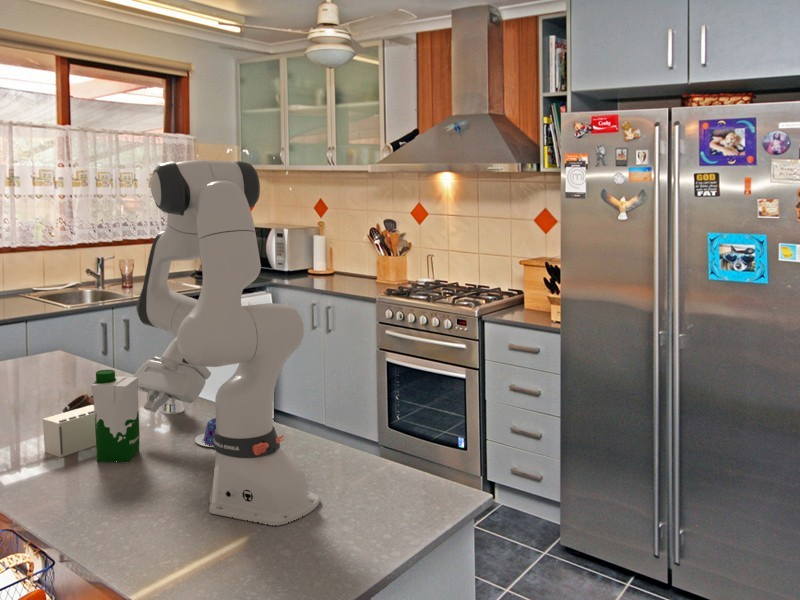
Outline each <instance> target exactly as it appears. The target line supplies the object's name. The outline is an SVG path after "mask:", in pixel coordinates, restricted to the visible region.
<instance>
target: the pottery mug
mask: <svg viewBox="0 0 800 600" xmlns="http://www.w3.org/2000/svg"><path fill="white" fill-rule="evenodd" d="M90 405H94V399H93V394H92V395H91V396H89V395H88V394H87V393H84V394H82V395H79V396H77V397H76V398H74V399H73V400H72V401H70V402H69V403H68V404H67V406H65V407H64V408H63V409H62V413H65V412H68V411H72V410H75V409H79V408H82V407H86V406H90Z"/></svg>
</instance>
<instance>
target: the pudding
mask: <svg viewBox="0 0 800 600" xmlns="http://www.w3.org/2000/svg"><path fill="white" fill-rule="evenodd" d="M215 429H216V417H215V418H212V419H210V420H208V421H207V423H206V427H205V430H204V431H205V432H203V433H201V434H199V435H197V436H196V437H195V439H194V442H195V443H196V444H198V445H200V446H203V447H207V448H208V447H209V448H214V431H215ZM203 438H204V440H203V443H202V442H201V441H202V439H203ZM204 441H205V442H204ZM205 444H206V445H205ZM207 444H211V445H210V446H209V445H207ZM212 445H213V446H212Z"/></svg>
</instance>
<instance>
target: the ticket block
mask: <svg viewBox="0 0 800 600" xmlns="http://www.w3.org/2000/svg"><path fill="white" fill-rule="evenodd" d="M42 428H43V429H42V432H43V442H44V443H43V446H44V453H46V454H49V455H53V456H56V457H58V458H63V457H65V456H69V455H72V454H74V453H77V452H78V453H79V452H81V451H83V449H84V450H87V449H89V447H90V448H92V446H93V447H96V446H95V445H96V433H95V414H94V405H90V406H86V407H82V408H79V409H75V410H72V411H68V412H65V413H63V412H62V413H58V414H55V415H51V416H48V417H45V418H44V417H43V418H42ZM86 448H87V449H86Z"/></svg>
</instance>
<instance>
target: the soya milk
mask: <svg viewBox="0 0 800 600" xmlns="http://www.w3.org/2000/svg"><path fill="white" fill-rule="evenodd" d="M90 388H91V393H92V395H93V399H94V414H95V433H96V446H95V448H96V449H95V450H96V462H97V463H122V462H128V463H130V462H131V460H132V459H133V458H135V456H136V455H137V454H138V453H140V435H141V434H140V415H139V411H140V410H139V390H138V377H133V376H132V377H131V376H126V375H125V376H124V375H123V376H116V371H115V370H114V369H102V370H97V371H96V372H95V381H94V382H92V384H91V385H90ZM116 461H117V462H116Z"/></svg>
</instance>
